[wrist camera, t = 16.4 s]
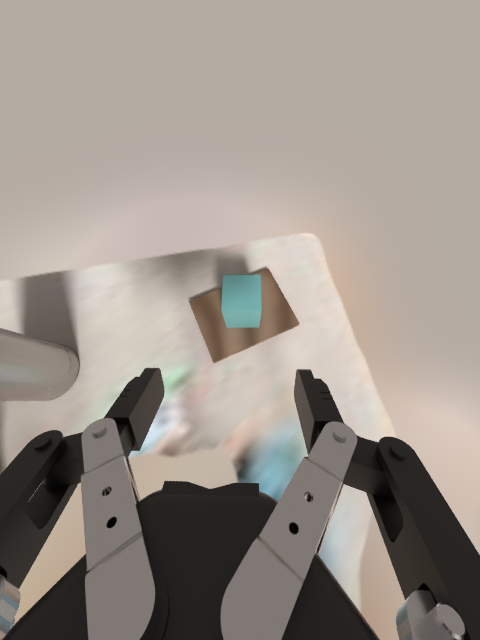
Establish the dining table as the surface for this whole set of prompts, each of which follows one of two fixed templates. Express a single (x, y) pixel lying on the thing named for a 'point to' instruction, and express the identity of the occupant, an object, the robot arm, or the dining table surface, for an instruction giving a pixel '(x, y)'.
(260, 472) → the dining table surface
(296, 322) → the board
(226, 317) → the teal foam cube
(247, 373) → the dining table surface
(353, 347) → the dining table surface
